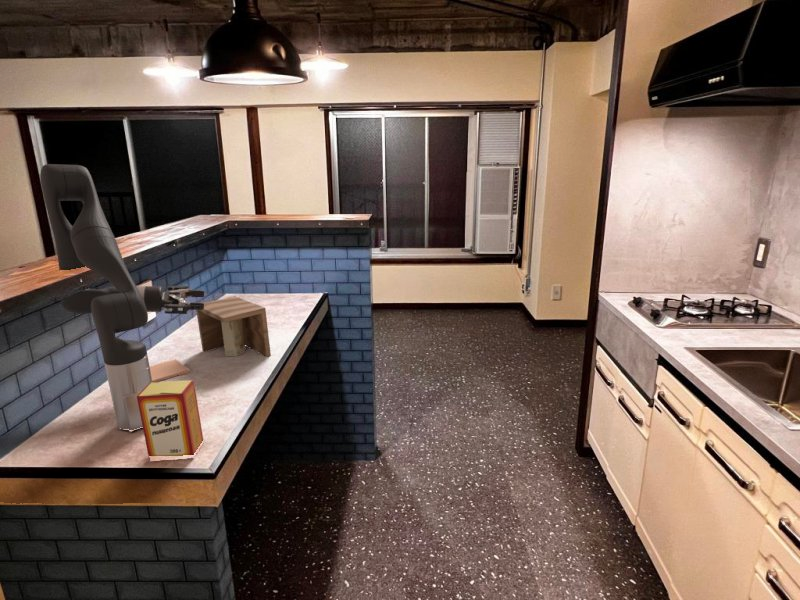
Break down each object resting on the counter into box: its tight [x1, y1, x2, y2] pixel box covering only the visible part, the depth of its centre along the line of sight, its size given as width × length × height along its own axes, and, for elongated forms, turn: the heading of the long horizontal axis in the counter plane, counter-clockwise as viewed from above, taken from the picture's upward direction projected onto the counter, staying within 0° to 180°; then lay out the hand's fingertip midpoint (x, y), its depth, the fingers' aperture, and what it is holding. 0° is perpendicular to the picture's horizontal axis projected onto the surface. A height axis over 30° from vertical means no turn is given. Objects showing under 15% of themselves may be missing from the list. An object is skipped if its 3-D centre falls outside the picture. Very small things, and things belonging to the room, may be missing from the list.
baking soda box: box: [137, 379, 204, 457], centre depth 109 cm, size 10×6×16 cm
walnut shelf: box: [195, 296, 272, 358], centre depth 165 cm, size 22×14×16 cm, turn 43°
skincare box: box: [221, 318, 247, 357], centre depth 166 cm, size 6×4×12 cm
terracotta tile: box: [149, 359, 191, 383], centre depth 154 cm, size 12×12×1 cm
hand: (204, 299), depth 150 cm, fingers open, 8 cm apart
